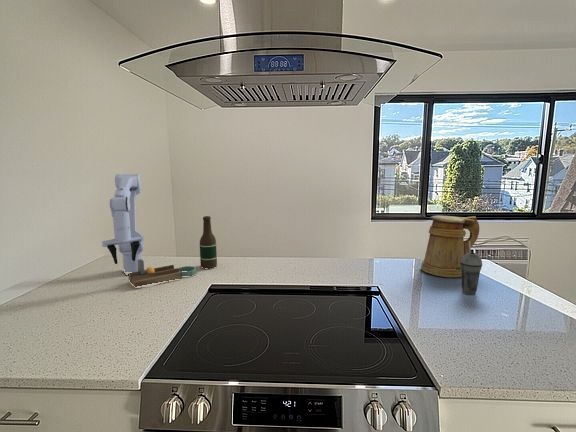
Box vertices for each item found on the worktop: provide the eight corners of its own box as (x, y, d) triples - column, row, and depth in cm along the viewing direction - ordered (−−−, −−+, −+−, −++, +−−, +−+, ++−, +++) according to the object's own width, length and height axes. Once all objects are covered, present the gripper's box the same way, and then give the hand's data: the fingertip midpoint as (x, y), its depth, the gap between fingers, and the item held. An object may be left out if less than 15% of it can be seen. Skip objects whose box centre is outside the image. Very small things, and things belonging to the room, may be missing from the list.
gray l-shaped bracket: (138, 275, 143) (137, 259, 142) (143, 274, 144) (142, 258, 143) (141, 277, 140) (139, 261, 139) (146, 276, 141) (144, 261, 140)
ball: (144, 274, 144) (144, 266, 144) (153, 273, 147) (152, 265, 146) (147, 277, 142) (146, 268, 141) (156, 275, 144) (155, 267, 143)
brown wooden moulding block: (129, 282, 144) (128, 272, 143) (172, 273, 155) (171, 263, 154) (135, 289, 136) (134, 278, 136) (180, 279, 147) (180, 269, 146)
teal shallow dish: (173, 274, 154) (173, 268, 154) (191, 270, 159) (191, 265, 159) (180, 279, 148) (180, 273, 148) (199, 275, 153) (198, 269, 153)
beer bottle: (197, 268, 162) (194, 217, 158) (205, 263, 169) (203, 214, 165) (212, 270, 160) (210, 218, 156) (220, 265, 167) (218, 215, 163)
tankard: (414, 265, 165) (417, 213, 161) (464, 265, 165) (468, 212, 161) (430, 278, 147) (434, 220, 143) (486, 278, 147) (491, 219, 143)
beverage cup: (482, 297, 126) (487, 243, 123) (460, 296, 128) (465, 243, 125) (476, 290, 133) (480, 239, 130) (455, 289, 135) (459, 238, 132)
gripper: (103, 232, 128) (106, 267, 130) (144, 227, 136) (147, 260, 139) (99, 229, 133) (102, 263, 135) (139, 224, 142) (141, 256, 144)
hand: (124, 261), depth 137 cm, fingers open, 6 cm apart
